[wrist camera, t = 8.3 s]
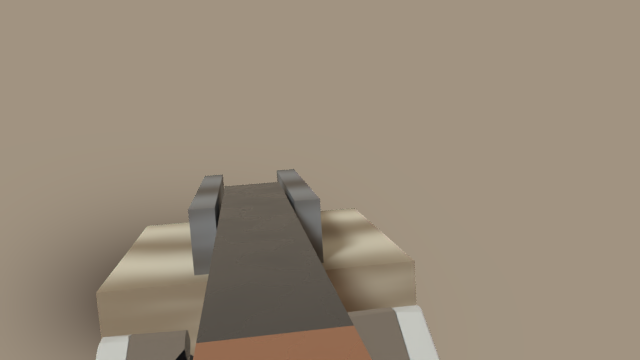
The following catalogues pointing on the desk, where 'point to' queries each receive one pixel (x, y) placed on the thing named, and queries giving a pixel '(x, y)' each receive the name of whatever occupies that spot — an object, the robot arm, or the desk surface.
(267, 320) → the bar
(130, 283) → the level stand
